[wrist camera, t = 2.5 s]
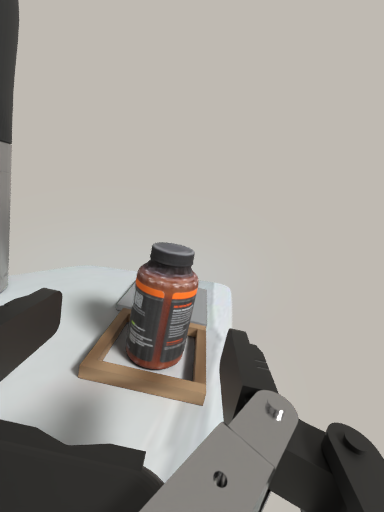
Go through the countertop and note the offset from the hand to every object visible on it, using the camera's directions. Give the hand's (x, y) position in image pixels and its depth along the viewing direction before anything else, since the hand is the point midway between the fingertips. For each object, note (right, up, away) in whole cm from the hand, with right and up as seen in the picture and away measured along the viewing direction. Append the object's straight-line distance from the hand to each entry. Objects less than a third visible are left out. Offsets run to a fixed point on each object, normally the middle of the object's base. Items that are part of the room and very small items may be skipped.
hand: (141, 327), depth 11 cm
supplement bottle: (-2, -7, +13) cm, 15 cm away
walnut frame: (-2, -7, +13) cm, 15 cm away
